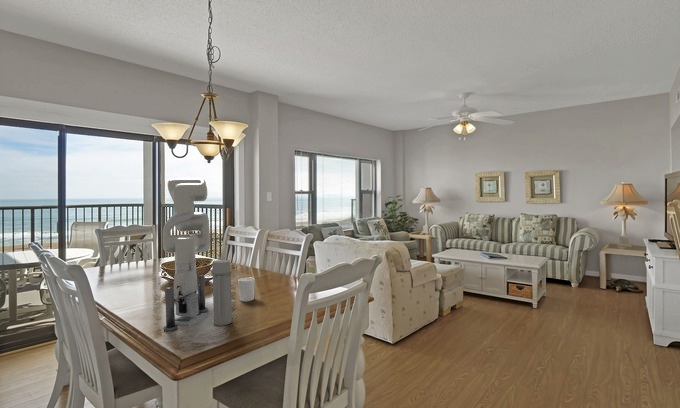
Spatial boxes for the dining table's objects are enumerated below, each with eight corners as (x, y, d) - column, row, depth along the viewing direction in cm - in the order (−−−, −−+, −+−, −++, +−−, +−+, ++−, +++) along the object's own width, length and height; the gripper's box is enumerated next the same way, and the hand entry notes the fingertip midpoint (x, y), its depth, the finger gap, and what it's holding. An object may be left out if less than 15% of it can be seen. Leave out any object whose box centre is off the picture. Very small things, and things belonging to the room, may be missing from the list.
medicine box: (199, 314, 149) (198, 293, 149) (191, 317, 145) (190, 296, 145) (183, 312, 152) (183, 291, 151) (175, 315, 147) (175, 294, 147)
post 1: (160, 331, 136) (159, 289, 136) (169, 326, 141) (167, 286, 140) (172, 332, 135) (170, 290, 135) (180, 327, 140) (179, 286, 139)
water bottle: (215, 320, 147) (213, 259, 146) (234, 319, 147) (233, 259, 147) (209, 329, 138) (207, 264, 137) (230, 328, 138) (228, 263, 137)
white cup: (250, 302, 171) (250, 281, 170) (235, 301, 172) (235, 280, 172) (257, 297, 178) (257, 277, 178) (243, 296, 180) (242, 277, 180)
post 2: (193, 312, 157) (192, 276, 156) (200, 309, 162) (199, 274, 161) (203, 313, 156) (202, 276, 155) (210, 309, 161) (209, 274, 160)
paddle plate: (166, 323, 144) (166, 320, 144) (183, 314, 155) (183, 311, 155) (191, 325, 142) (191, 321, 142) (206, 315, 153) (206, 312, 153)
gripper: (190, 262, 157) (191, 303, 157) (163, 271, 140) (165, 317, 141) (205, 263, 155) (206, 304, 156) (180, 271, 139) (182, 318, 139)
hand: (187, 310), depth 148 cm, fingers closed on medicine box, 4 cm apart
